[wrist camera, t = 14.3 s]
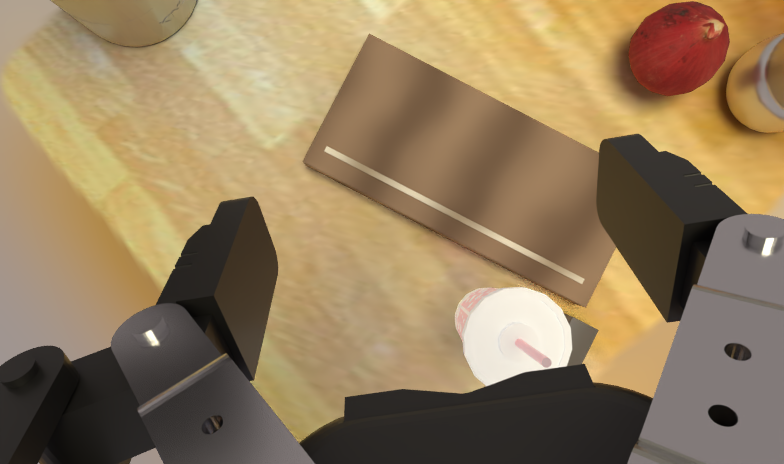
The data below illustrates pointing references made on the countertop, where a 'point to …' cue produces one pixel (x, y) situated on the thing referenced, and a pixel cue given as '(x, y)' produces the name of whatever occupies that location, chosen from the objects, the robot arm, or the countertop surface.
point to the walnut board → (469, 173)
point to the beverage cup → (511, 332)
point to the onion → (678, 48)
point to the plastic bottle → (759, 86)
